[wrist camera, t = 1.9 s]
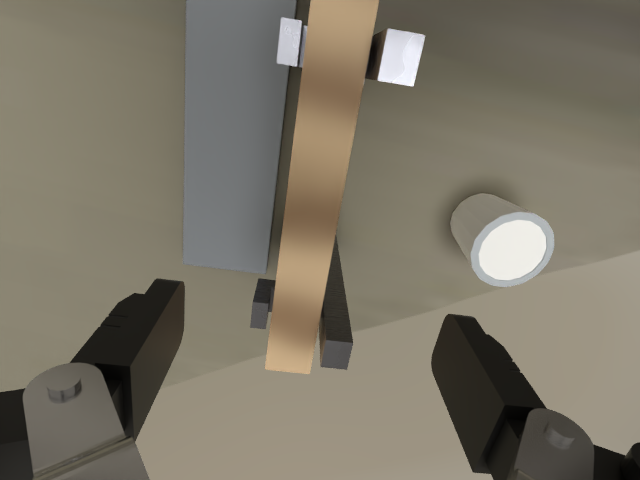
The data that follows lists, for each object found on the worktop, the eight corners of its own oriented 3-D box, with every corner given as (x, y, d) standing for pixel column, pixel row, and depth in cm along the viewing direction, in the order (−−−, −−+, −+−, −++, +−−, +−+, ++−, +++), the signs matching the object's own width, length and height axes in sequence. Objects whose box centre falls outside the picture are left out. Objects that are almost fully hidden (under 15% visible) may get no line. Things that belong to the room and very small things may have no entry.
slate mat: (192, -26, 29) (186, -30, 28) (297, -6, 30) (297, -9, 28) (187, 257, 39) (182, 264, 37) (267, 266, 39) (265, 274, 38)
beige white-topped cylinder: (441, 254, 39) (467, 290, 33) (445, 189, 37) (474, 215, 30) (509, 249, 39) (547, 284, 33) (518, 184, 36) (563, 208, 30)
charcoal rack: (293, 30, 31) (277, -7, 15) (369, 44, 31) (428, 21, 16) (269, 244, 38) (242, 365, 23) (331, 252, 39) (345, 375, 23)
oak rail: (315, -31, 19) (316, -48, 16) (374, -20, 19) (385, -34, 17) (269, 340, 28) (264, 369, 26) (309, 344, 29) (309, 374, 26)
